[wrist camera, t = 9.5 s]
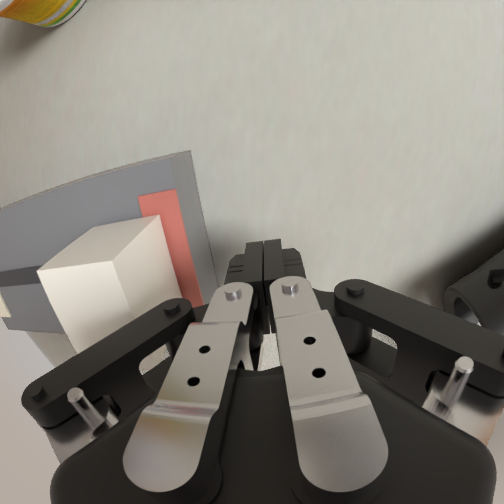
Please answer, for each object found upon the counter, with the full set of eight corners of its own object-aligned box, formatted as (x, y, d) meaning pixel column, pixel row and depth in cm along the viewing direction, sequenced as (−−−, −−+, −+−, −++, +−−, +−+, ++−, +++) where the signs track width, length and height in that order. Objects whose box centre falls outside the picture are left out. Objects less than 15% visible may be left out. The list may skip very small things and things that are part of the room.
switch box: (190, 150, 16) (168, 158, 13) (220, 295, 20) (211, 333, 17) (-7, 211, 18) (-37, 228, 14) (30, 306, 22) (7, 330, 19)
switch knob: (159, 214, 13) (112, 260, 9) (183, 302, 15) (157, 369, 11) (93, 227, 14) (36, 270, 9) (121, 306, 16) (84, 364, 11)
